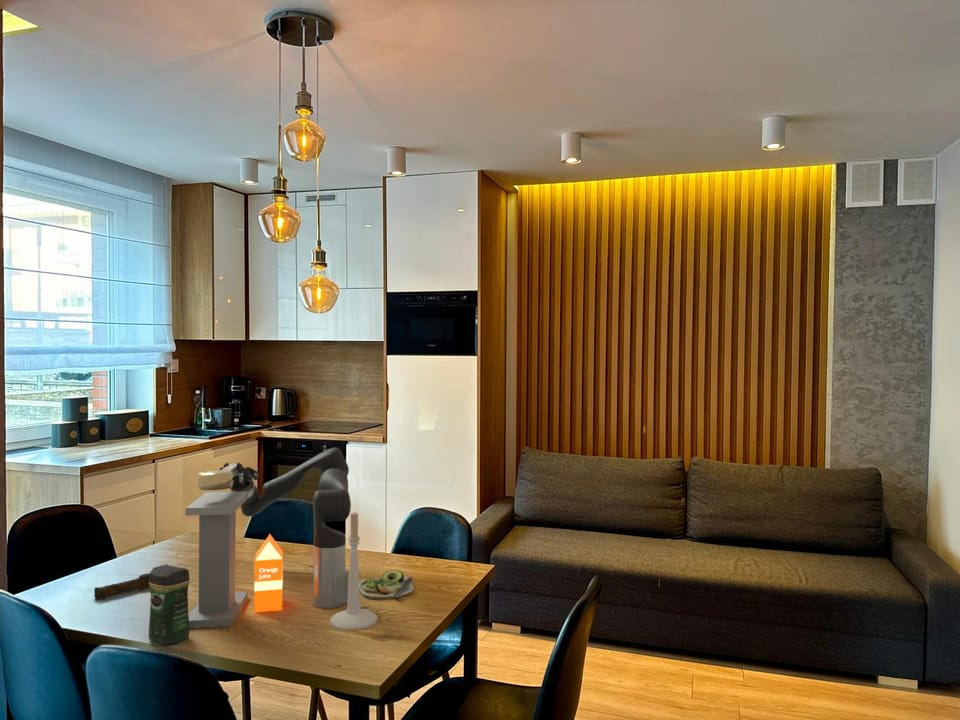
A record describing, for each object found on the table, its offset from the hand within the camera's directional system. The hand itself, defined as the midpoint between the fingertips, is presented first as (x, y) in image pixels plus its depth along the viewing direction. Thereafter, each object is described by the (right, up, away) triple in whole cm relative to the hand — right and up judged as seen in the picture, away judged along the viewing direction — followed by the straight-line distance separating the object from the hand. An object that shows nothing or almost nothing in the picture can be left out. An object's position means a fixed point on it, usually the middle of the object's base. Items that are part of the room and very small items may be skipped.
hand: (231, 465), depth 213 cm
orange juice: (+16, -39, -13) cm, 44 cm away
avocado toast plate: (+48, -40, +2) cm, 62 cm away
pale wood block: (+1, -3, -10) cm, 11 cm away
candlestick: (+42, -39, -25) cm, 63 cm away
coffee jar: (-2, -39, -38) cm, 54 cm away
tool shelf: (+3, -39, -19) cm, 43 cm away
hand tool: (-31, -39, -2) cm, 50 cm away
